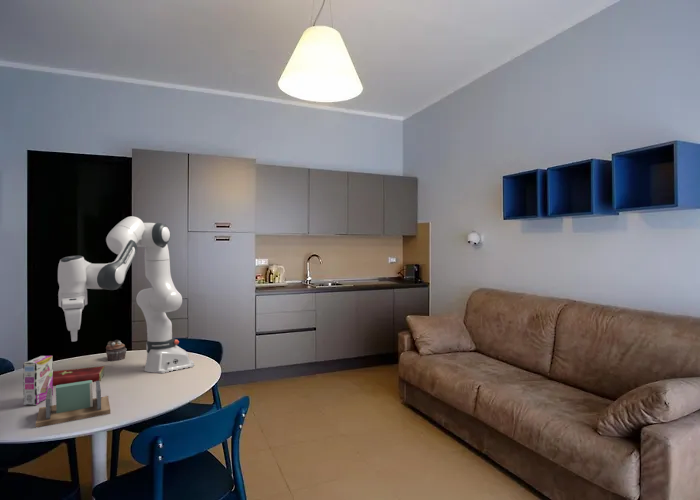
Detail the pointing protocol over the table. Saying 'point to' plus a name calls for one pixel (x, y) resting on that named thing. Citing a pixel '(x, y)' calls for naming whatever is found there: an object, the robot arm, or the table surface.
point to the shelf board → (72, 413)
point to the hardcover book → (77, 375)
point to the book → (74, 396)
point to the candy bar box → (37, 379)
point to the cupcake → (115, 350)
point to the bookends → (49, 400)
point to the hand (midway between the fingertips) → (74, 338)
